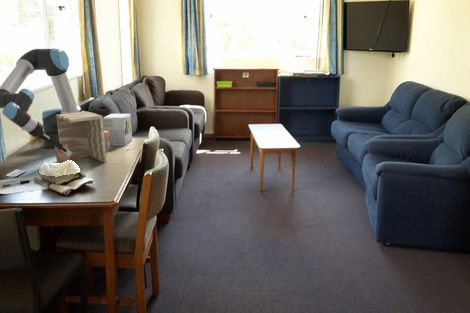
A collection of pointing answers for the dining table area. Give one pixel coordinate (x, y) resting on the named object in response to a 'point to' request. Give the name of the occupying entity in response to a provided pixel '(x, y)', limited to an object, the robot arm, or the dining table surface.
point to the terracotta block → (61, 153)
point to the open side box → (82, 134)
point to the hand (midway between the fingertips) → (68, 153)
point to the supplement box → (118, 128)
